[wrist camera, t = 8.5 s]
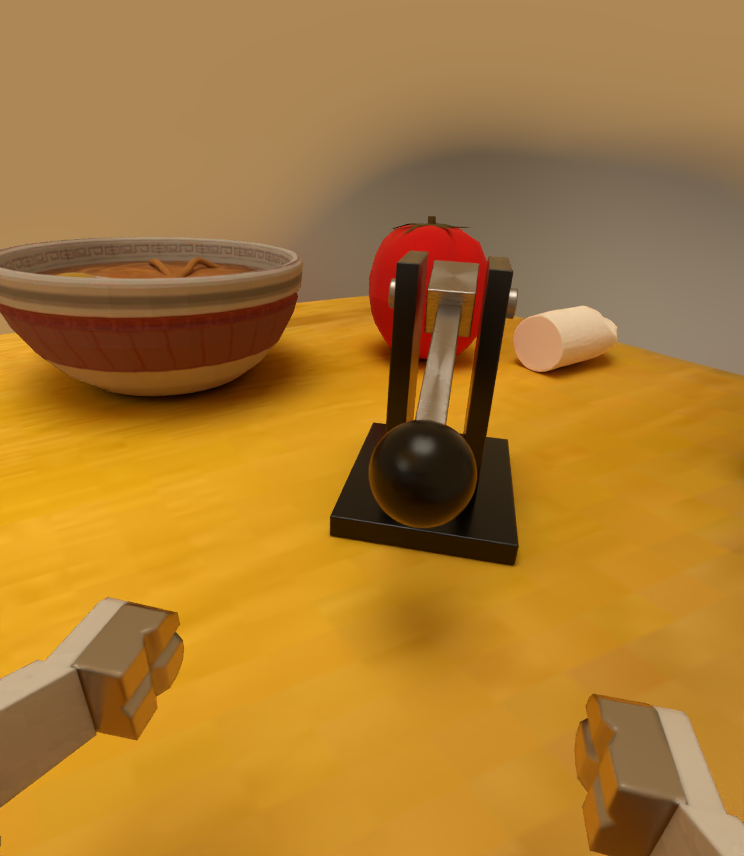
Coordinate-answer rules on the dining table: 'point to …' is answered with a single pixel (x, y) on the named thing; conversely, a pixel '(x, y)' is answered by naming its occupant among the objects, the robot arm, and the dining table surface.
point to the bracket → (493, 497)
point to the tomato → (440, 246)
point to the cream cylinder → (563, 338)
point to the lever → (431, 417)
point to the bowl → (150, 308)
